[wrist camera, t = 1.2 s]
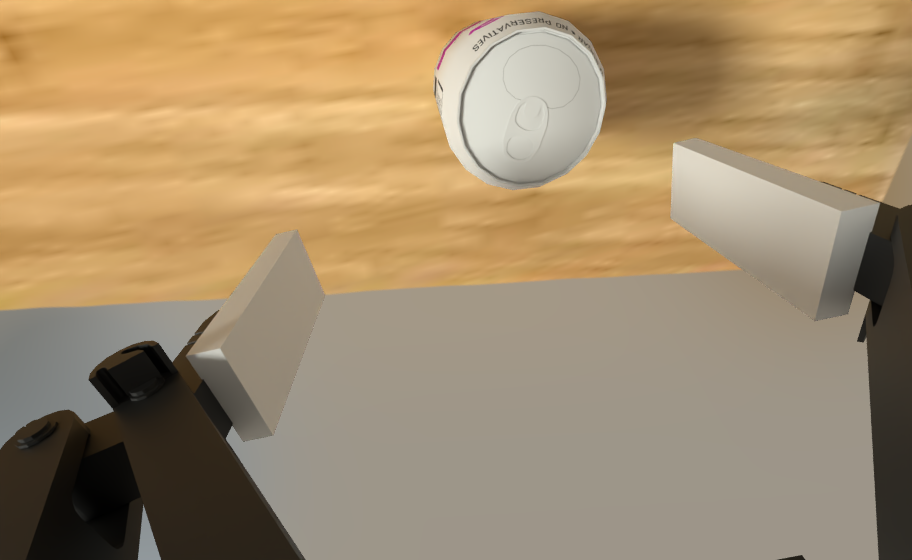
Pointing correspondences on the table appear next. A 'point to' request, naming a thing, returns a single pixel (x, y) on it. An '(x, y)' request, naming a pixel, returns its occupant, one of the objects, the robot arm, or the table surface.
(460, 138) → the supplement can
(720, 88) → the table surface
